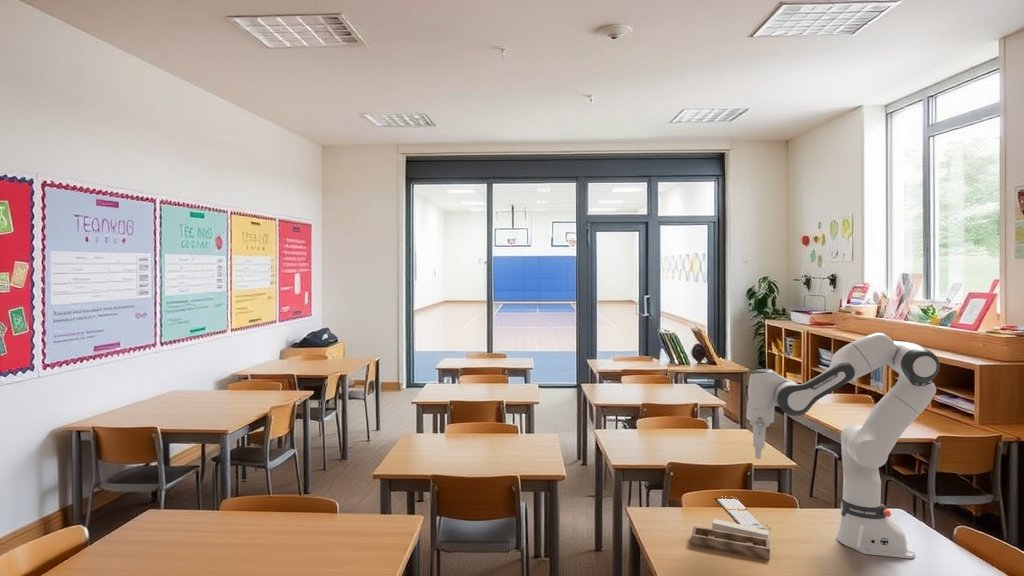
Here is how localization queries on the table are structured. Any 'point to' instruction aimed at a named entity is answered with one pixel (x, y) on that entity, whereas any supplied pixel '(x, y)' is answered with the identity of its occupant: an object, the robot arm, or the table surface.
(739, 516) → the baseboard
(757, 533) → the clay strip
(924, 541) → the table surface
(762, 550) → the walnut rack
